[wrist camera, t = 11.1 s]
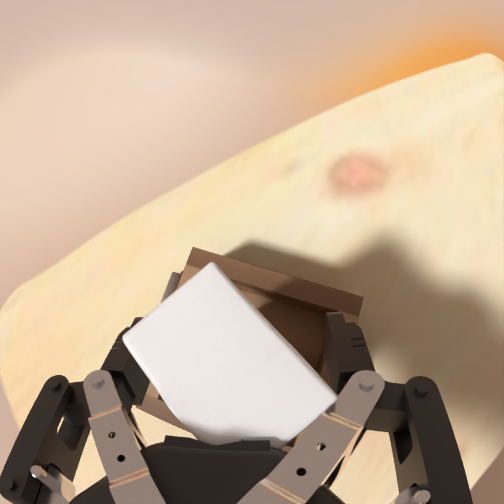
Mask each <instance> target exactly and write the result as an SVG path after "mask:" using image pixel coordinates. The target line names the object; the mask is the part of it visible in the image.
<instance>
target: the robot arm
mask: <svg viewBox="0 0 504 504" xmlns="http://www.w3.org/2000/svg"><path fill="white" fill-rule="evenodd" d="M143 318H144V317H136V318H135V319H134V321H133V323H132V325H131V327H127V328H125V329H124V330H123V331H122V332H121V333H120V334H119V335H118V337H117V339H116V341H115V343H114V345H113V346H112V349H111V350H110V352H109V354H108V356H107V358H106V359H105V361H104V363H103V365H102V367H101V369H100V370H96V371H93V372H91V373H90V374H89V375H87V376H86V378H85V379H84V381H82V382H74V383H69V381H68V380H67V378H66V377H65V376H62V375H56V376H53V377H51V378H49V379H48V380H47V381H46V383H45V384H44V386H43V388H42V390H41V391H40V393H39V395H38V397H37V399H36V401H35V403H34V405H33V406H32V408H31V410H30V412H29V414H28V416H27V418H26V420H25V422H24V424H23V426H22V428H21V431H20V433H19V435H18V437H17V439H16V441H15V444H14V446H13V448H12V450H11V452H10V455H9V457H8V459H7V461H6V464H5V466H4V469H3V471H2V473H1V476H0V494H1V495H2V496H3V497H4V498H5V499H7V500H8V501H10V502H11V503H13V504H345V503H344V502H343V501H342V500H341V499H340V498H339V497H337V496H336V495H335V494H334V493H333V492H332V491H331V490H330V489H331V487H332V486H333V484H334V483H335V482H336V480H337V479H338V477H339V476H340V474H341V473H342V471H343V470H344V468H345V466H346V464H347V463H348V461H349V459H350V458H351V456H352V455H353V453H354V452H355V450H356V449H357V447H358V445H359V444H360V442H361V440H362V439H363V437H364V436H365V434H366V432H367V431H368V430H374V431H382V432H389V436H390V441H391V447H392V452H393V457H394V463H395V469H396V475H397V482H398V488H399V495H398V496H397V497H396V498H395V499H394V500H393V501H392V502H391V503H390V504H473V502H472V498H471V493H470V489H469V485H468V481H467V477H466V473H465V469H464V466H463V462H462V459H461V455H460V452H459V449H458V445H457V442H456V439H455V436H454V433H453V429H452V426H451V423H450V420H449V418H448V415H447V412H446V409H445V406H444V403H443V401H442V398H441V395H440V393H439V390H438V387H437V385H436V384H435V382H434V381H433V380H431V379H429V378H427V377H423V376H417V377H413V378H411V379H410V380H409V381H408V382H407V383H406V384H397V383H390V382H387V381H385V380H383V378H382V377H381V376H380V375H379V374H378V373H376V372H375V369H374V366H373V363H372V360H371V357H370V354H369V351H368V348H367V346H366V342H365V339H364V336H363V333H362V330H361V329H360V328H359V327H358V326H357V325H356V324H355V323H354V322H349V323H346V322H345V319H344V316H343V313H342V312H332V313H325V321H324V335H323V349H324V356H325V361H326V367H327V372H328V378H329V384H330V388H331V389H332V390H333V391H334V392H335V393H336V395H337V396H338V400H337V401H336V402H335V403H334V404H333V405H332V406H331V407H330V408H329V409H328V411H327V412H324V411H323V412H322V413H321V414H320V415H319V416H318V417H317V418H316V420H315V421H314V422H313V423H312V425H311V426H310V427H309V428H308V430H307V431H306V432H305V433H304V435H303V436H302V437H301V438H300V440H299V441H298V442H297V443H296V444H295V446H294V447H293V448H292V449H291V450H290V451H289V453H288V452H285V451H283V450H280V449H277V448H273V447H270V440H243V441H237V442H232V443H227V444H221V445H212V444H208V443H205V442H202V441H198V440H195V439H192V438H187V437H177V436H168V435H166V436H165V440H164V442H161V443H156V444H153V445H150V446H148V445H147V443H146V441H145V439H144V437H143V435H142V433H141V431H140V428H139V426H138V424H137V422H136V420H135V417H134V415H133V413H132V411H131V408H132V405H138V406H142V403H143V400H144V397H145V395H146V392H147V389H148V386H149V383H150V380H149V378H148V377H147V376H146V374H145V373H144V371H143V370H142V369H141V367H140V366H139V364H138V363H137V361H136V360H135V359H134V357H133V356H132V354H131V353H130V351H129V350H128V348H127V347H126V345H125V344H124V342H123V335H124V334H125V333H126V332H128V331H129V330H130V329H131V328H132V327H133V326H135V325H136V324H137V323H138V322H139V321H140V320H142V319H143ZM62 417H63V418H64V420H63V422H62V425H61V427H60V429H59V432H58V434H57V428H58V425H59V423H60V421H61V418H62ZM90 430H91V431H92V434H93V437H94V440H95V444H96V447H97V450H98V453H99V455H100V458H101V461H102V464H103V467H104V469H105V472H106V476H105V477H103V478H102V479H101V480H99V481H98V482H96V483H95V484H93V485H92V486H90V487H89V488H88V489H86V490H85V491H83V492H82V493H80V494H79V495H77V496H76V494H75V487H74V484H73V483H72V482H73V479H74V476H75V473H76V470H77V467H78V464H79V461H80V458H81V455H82V452H83V449H84V446H85V444H86V441H87V438H88V435H89V432H90Z"/></svg>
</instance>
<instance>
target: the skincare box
mask: <svg viewBox="0 0 504 504" xmlns="http://www.w3.org/2000/svg"><path fill="white" fill-rule="evenodd" d="M123 342H124V344H125V345H126V347H127V348H128V350H129V351H130V353H131V354H132V356H133V357H134V359H135V360H136V361H137V363H138V364H139V366H140V367H141V369H142V370H143V371H144V373H145V374H146V376H147V377H148V378H149V380H150V381H151V382H152V384H153V385H154V386H155V388H156V389H157V391H158V392H159V394H160V395H161V397H162V399H163V400H164V402H165V403H166V405H167V406H168V407H169V409H170V410H171V411H172V413H173V414H174V415H175V416H176V417H177V419H178V420H179V421H180V422H181V423H182V424H183V425H185V426H186V427H187V428H188V430H189V431H190V432H191V433H192V434H193V435H194V436H195V437H196V438H197V439H198V441H202V442H205V443H208V444H212V445H221V444H227V443H232V442H237V441H243V440H270V447H273V448H277V449H282V448H283V447H284V446H285V445H287V444H288V443H289V442H290V441H292V440H293V439H294V438H295V437H297V436H298V435H299V434H300V433H301V432H303V431H304V430H305V429H306V428H307V427H308V426H310V425H311V424H312V423H313V422H314V421H315V420H316V418H317V417H318V416H319V415H320V414H321V413H322V412H323V411H324V412H325V411H327V410H328V409H329V408H330V407H331V406H332V405H333V404H334V403H335V402H336V401H337V400H338V396H337V395H336V393H335V392H334V391H333V390H332V389H331V388H330V387H329V386H328V385H327V383H326V382H325V381H324V380H323V379H322V378H321V377H320V376H319V374H318V373H317V372H316V371H315V370H314V369H313V368H312V367H311V365H310V364H309V363H308V362H307V361H306V360H305V359H304V358H303V357H302V356H301V355H300V354H299V353H298V352H297V350H296V349H295V348H294V347H293V346H292V345H291V344H290V343H289V342H288V341H287V340H286V339H285V338H284V337H283V336H282V335H281V334H280V333H279V332H278V331H277V330H276V329H275V328H274V327H273V326H272V325H271V324H270V323H269V321H268V320H267V319H266V318H265V317H264V316H263V315H262V314H261V313H260V312H259V311H258V310H257V309H256V307H255V306H254V305H253V304H252V303H251V302H250V301H249V300H248V299H247V298H246V297H245V296H244V295H243V293H242V292H241V291H240V290H239V289H238V288H237V287H236V286H235V285H234V284H233V282H232V281H231V280H230V279H229V278H228V277H227V276H226V275H225V274H224V272H223V271H222V270H221V269H220V268H219V267H218V265H217V264H216V263H215V262H210V263H209V264H208V265H206V266H205V267H204V268H203V269H202V270H200V271H199V272H198V273H197V274H196V275H194V276H193V277H192V278H191V279H189V280H188V281H187V282H186V283H185V284H183V285H182V286H181V287H180V288H179V289H177V290H176V291H175V292H174V293H173V294H171V295H170V296H169V297H168V298H167V299H165V300H164V301H163V302H162V303H161V304H159V305H158V306H157V307H156V308H155V309H153V310H152V311H151V312H150V313H149V314H147V315H146V316H145V317H144V318H143V319H142V320H140V321H139V322H138V323H137V324H136V325H135V326H133V327H132V328H131V329H130V330H129V331H128V332H126V333H125V334H124V335H123Z"/></svg>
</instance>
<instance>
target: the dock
mask: <svg viewBox="0 0 504 504" xmlns="http://www.w3.org/2000/svg"><path fill="white" fill-rule="evenodd" d="M210 262H215V263H216V264H217V265H218V267H219V268H220V269H221V270H222V271H223V272H224V274H225V275H226V276H227V277H228V278H229V279H230V280H231V281H232V282H233V284H234V285H235V286H236V287H237V288H238V289H239V290H240V291H241V292H242V293H243V295H244V296H245V297H246V298H247V299H248V300H249V301H250V302H251V303H252V304H253V305H254V306H255V307H256V309H257V310H258V311H259V312H260V313H261V314H262V315H263V316H264V317H265V318H266V319H267V320H268V321H269V323H270V324H271V325H272V326H273V327H274V328H275V329H276V330H277V331H278V332H279V333H280V334H281V335H282V336H283V337H284V338H285V339H286V340H287V341H288V342H289V343H290V344H291V345H292V346H293V347H294V348H295V349H296V350H297V352H298V353H299V354H300V355H301V356H302V357H303V358H304V359H305V360H306V361H307V362H308V363H309V364H310V365H311V367H312V368H313V369H314V370H315V371H316V372H317V373H318V374H319V376H320V377H321V378H322V379H323V380H324V381H325V382H326V383H327V385H328V386H329V387H330V384H329V378H328V372H327V367H326V361H325V356H324V349H323V335H324V321H325V313H332V312H342V313H343V316H344V319H345V322H346V323H349V322H354V323H355V324H357V320H358V317H359V313H360V309H361V305H362V301H363V297H361V296H357V295H354V294H350V293H347V292H344V291H340V290H337V289H333V288H330V287H326V286H323V285H319V284H316V283H312V282H309V281H306V280H302V279H299V278H295V277H292V276H289V275H285V274H282V273H278V272H275V271H272V270H268V269H265V268H261V267H258V266H255V265H251V264H248V263H245V262H241V261H238V260H235V259H231V258H228V257H225V256H221V255H218V254H215V253H211V252H208V251H205V250H201V249H198V248H195V247H193V248H192V250H191V253H190V255H189V258H188V260H187V263H186V266H185V268H184V271H183V273H182V275H181V274H179V273H176V272H172V275H171V277H170V280H169V282H168V285H167V287H166V290H165V293H164V295H163V298H162V301H161V303H162V302H163V301H164V300H165V299H167V298H168V297H169V296H170V295H171V294H173V293H174V292H175V291H176V290H177V289H179V288H180V287H181V286H182V285H183V284H185V283H186V282H187V281H188V280H189V279H191V278H192V277H193V276H194V275H196V274H197V273H198V272H199V271H200V270H202V269H203V268H204V267H205V266H206V265H208V264H209V263H210ZM161 303H160V304H161ZM136 408H138V409H140V410H142V411H144V412H146V413H148V414H150V415H153V416H155V417H157V418H159V419H161V420H163V421H165V422H167V423H170V424H172V425H174V426H176V427H179V428H181V429H183V430H186V431H188V432H190V431H189V430H188V428H187V427H186V426H185V425H183V424H182V423H181V422H180V421H179V420H178V419H177V417H176V416H175V415H174V414H173V413H172V411H171V410H170V409H169V407H168V406H167V405H166V403H165V402H164V400H163V399H162V397H161V395H160V394H159V392H158V391H157V389H156V388H155V386H154V385H153V384H152V382H151V381H150V383H149V386H148V389H147V392H146V395H145V397H144V400H143V403H142V406H138V405H136ZM327 411H328V410H327ZM327 411H325V412H327ZM311 425H312V424H311ZM311 425H310V426H311ZM310 426H308V427H307V428H306V429H305V430H304V431H303V432H301V433H300V434H299V435H298V436H297V437H295V438H294V439H293V440H292V441H290V442H289V443H288V444H287V445H285V446H284V447H283V448H282V449H280V450H283V451H285V452H288V453H289V451H290V450H291V449H292V448H293V447H294V446H295V444H296V443H297V442H298V441H299V440H300V438H301V437H302V436H303V435H304V433H305V432H306V431H307V430H308V428H309V427H310Z"/></svg>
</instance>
